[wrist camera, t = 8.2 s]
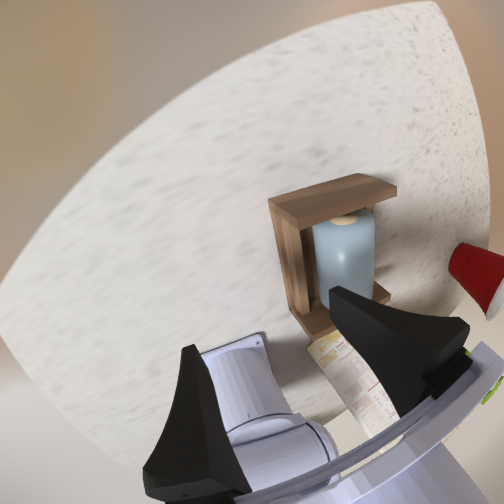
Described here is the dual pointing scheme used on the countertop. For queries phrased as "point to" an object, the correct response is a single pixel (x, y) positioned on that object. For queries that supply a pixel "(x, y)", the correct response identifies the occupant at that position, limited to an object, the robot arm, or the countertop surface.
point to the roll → (345, 253)
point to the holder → (302, 242)
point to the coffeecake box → (356, 385)
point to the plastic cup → (480, 276)
